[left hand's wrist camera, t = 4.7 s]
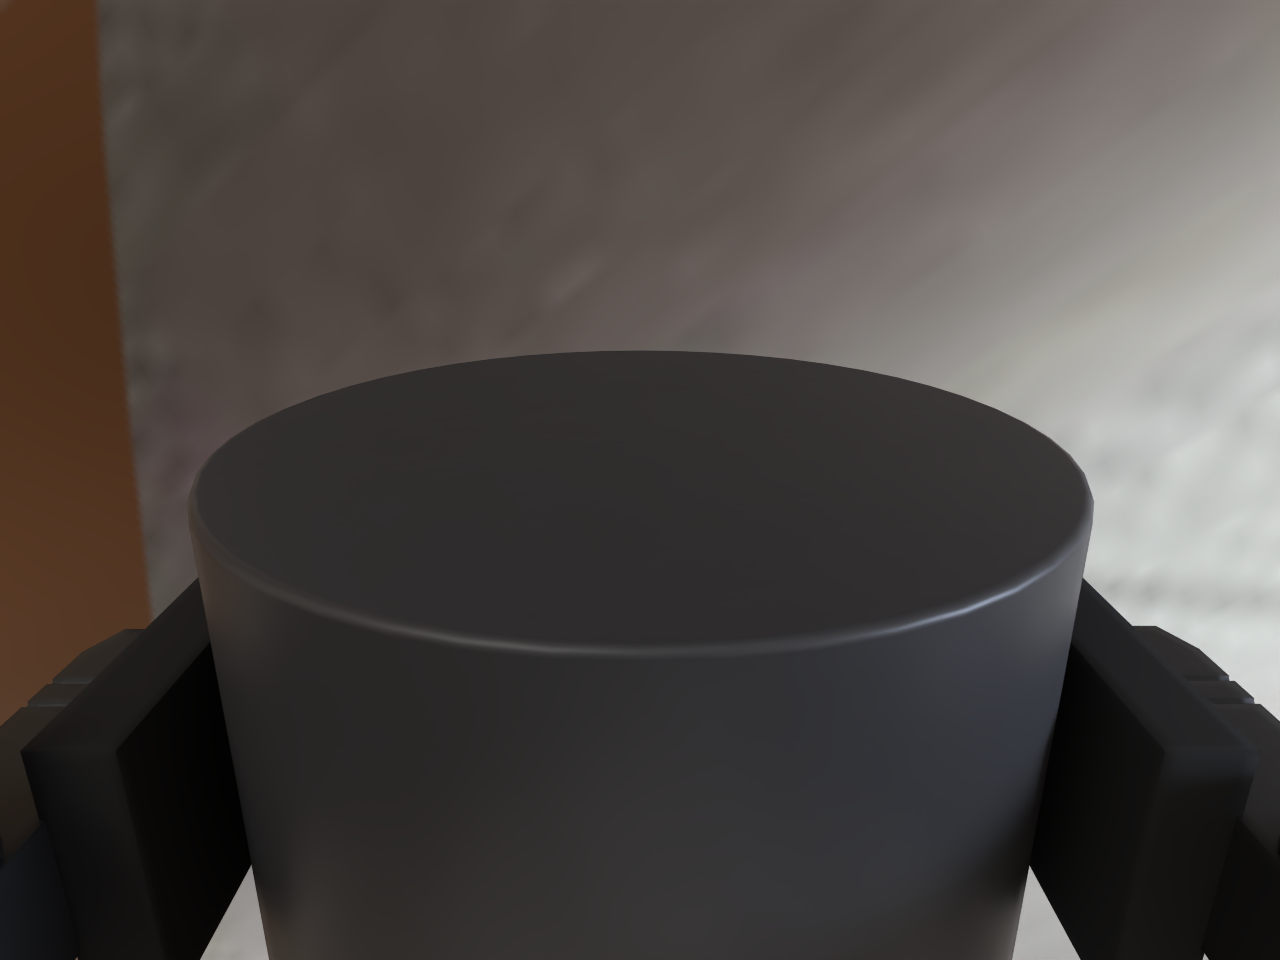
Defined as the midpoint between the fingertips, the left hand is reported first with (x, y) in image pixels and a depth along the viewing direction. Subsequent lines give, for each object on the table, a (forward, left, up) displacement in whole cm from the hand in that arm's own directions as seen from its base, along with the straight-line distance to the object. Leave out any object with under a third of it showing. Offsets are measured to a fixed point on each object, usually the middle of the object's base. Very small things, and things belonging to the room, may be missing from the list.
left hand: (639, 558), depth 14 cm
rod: (+10, 0, 0) cm, 10 cm away
